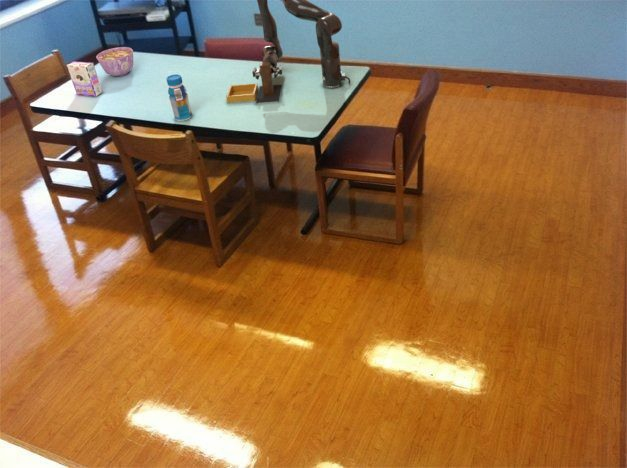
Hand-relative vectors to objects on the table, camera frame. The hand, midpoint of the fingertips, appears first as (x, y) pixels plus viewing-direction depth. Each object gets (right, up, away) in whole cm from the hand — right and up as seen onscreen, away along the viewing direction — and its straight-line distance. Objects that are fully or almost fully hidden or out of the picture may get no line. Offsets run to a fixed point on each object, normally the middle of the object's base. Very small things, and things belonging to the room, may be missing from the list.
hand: (266, 77), depth 286 cm
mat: (+1, -7, +7) cm, 10 cm away
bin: (-12, -7, +8) cm, 16 cm away
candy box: (-96, -1, +31) cm, 101 cm away
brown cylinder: (+1, -6, +7) cm, 9 cm away
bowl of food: (-86, +15, +51) cm, 101 cm away
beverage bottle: (-38, -20, -4) cm, 44 cm away
